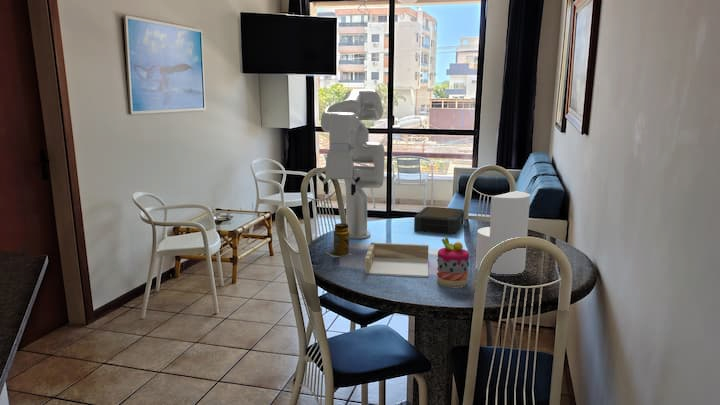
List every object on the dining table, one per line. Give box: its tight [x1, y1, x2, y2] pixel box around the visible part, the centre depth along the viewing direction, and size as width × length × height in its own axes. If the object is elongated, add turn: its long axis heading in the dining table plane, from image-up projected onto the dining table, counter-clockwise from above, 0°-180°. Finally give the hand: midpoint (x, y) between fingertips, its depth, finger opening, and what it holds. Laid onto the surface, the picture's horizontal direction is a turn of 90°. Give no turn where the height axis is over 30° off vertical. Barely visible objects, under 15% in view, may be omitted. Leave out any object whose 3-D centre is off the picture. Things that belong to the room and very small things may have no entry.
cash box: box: [413, 206, 465, 236], centre depth 248 cm, size 25×20×8 cm
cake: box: [436, 237, 470, 288], centre depth 171 cm, size 10×10×15 cm
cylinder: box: [475, 190, 531, 274], centre depth 184 cm, size 17×17×28 cm
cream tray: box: [364, 242, 429, 275], centre depth 188 cm, size 20×22×6 cm
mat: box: [368, 257, 429, 278], centre depth 189 cm, size 20×22×1 cm
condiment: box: [325, 222, 353, 258], centre depth 203 cm, size 7×8×12 cm
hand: (339, 194), depth 189 cm, fingers open, 9 cm apart
